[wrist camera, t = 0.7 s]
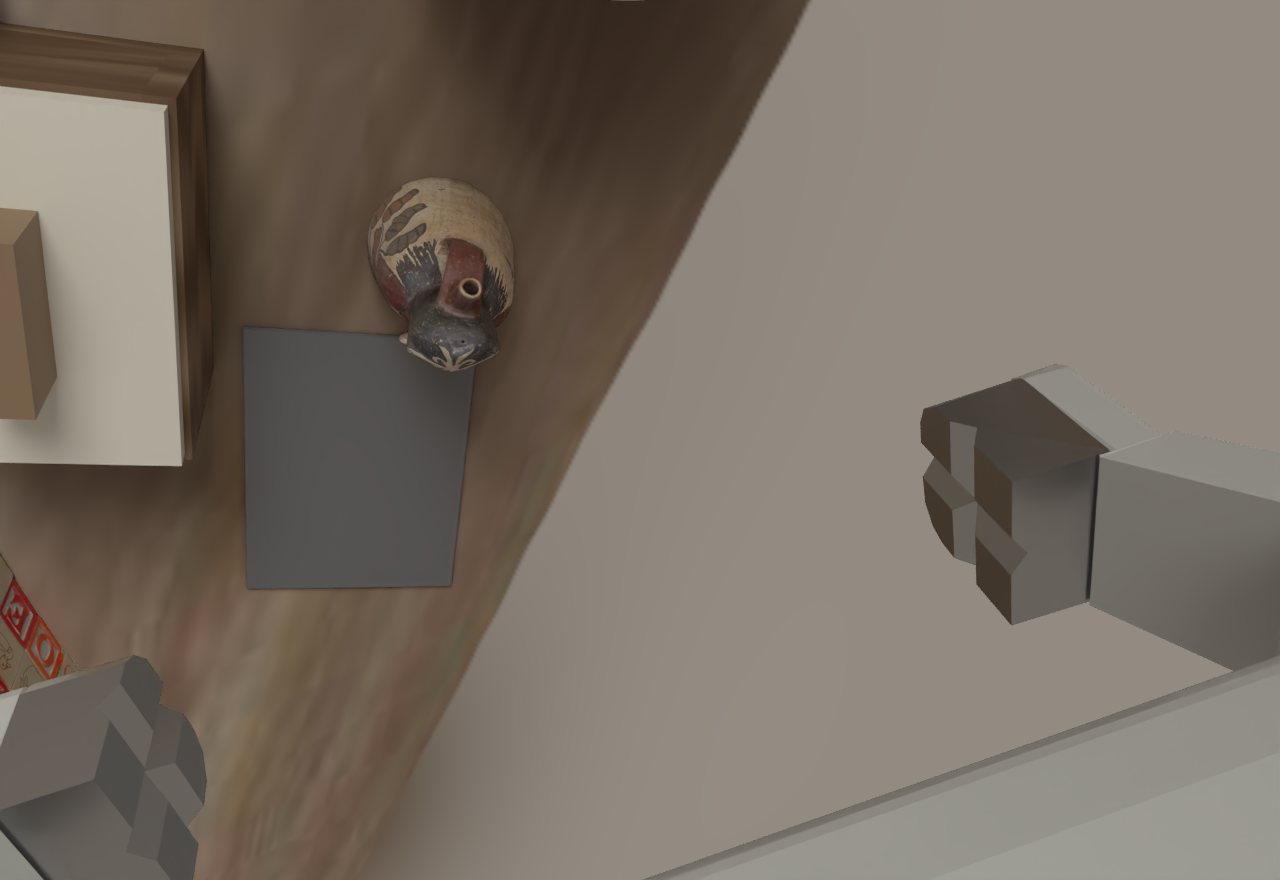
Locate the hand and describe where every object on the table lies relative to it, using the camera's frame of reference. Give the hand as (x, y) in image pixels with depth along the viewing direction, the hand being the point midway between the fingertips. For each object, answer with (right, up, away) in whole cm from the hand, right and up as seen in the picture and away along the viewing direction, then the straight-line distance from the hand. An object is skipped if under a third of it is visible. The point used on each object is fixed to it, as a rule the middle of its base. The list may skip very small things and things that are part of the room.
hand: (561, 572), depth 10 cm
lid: (-24, +7, +30) cm, 39 cm away
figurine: (-10, +12, +42) cm, 45 cm away
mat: (-15, 0, +48) cm, 50 cm away
